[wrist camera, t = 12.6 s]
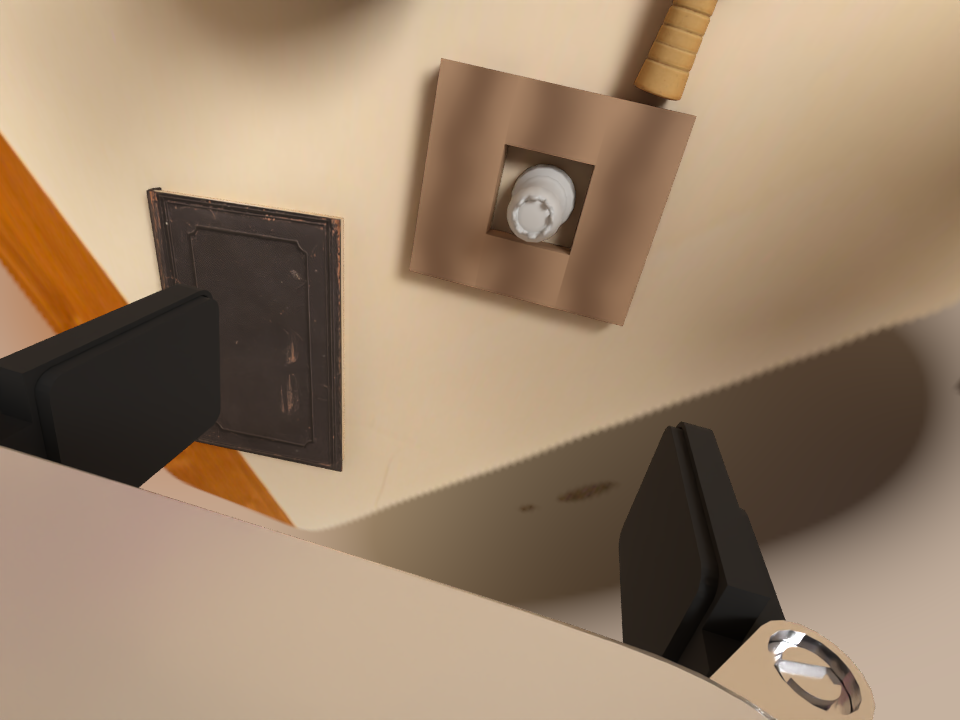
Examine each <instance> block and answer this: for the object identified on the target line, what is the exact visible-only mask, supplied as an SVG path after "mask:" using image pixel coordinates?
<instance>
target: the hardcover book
mask: <svg viewBox="0 0 960 720" xmlns="http://www.w3.org/2000/svg"><path fill="white" fill-rule="evenodd" d="M147 198H148V204H149V210H150V217H151V223H152V229H153V236H154V242H155V248H156V255H157V261H158V267H159V274H160V280H161V286H162V290H164V289H166V288H168V287H171V286H173V285H175V284H179V283H181V284H185V285H189V286H192V287H196V288H200V289H203V290H207V291H209V292H210V293H211V295H212V297H213V299H214V300H216V301H217V303H218V306H219V339H220V397H221V410H220V415H219V417H218V419H217V421H216V423H215V424H214V425H213V426H212V427H211V428H210V429H208V430H207V431H206V432H205V433H204V434H202V435H201V436H200V437H199V438H198V439H196V440H195V441H196V442H201V443H206V444H210V445H215V446H220V447H225V448H230V449H234V450H239V451H244V452H249V453H254V454H258V455H263V456H268V457H273V458H278V459H282V460H287V461H292V462H297V463H301V464H306V465H311V466H316V467H321V468H325V469H330V470H335V471H340V472H341V471H342V461H343V459H344V218H340V217H334V216H327V215H320V214H314V213H307V212H301V211H294V210H287V209H281V208H274V207H267V206H261V205H254V204H248V203H241V202H234V201H228V200H221V199H215V198H208V197H201V196H195V195H188V194H181V193H175V192H168V191H162V190H161V188H160V187H159V188H152V189H148V190H147Z"/></svg>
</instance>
